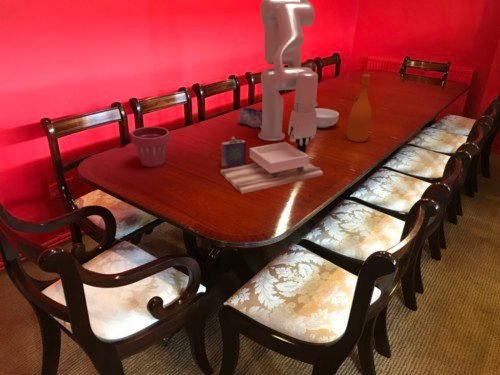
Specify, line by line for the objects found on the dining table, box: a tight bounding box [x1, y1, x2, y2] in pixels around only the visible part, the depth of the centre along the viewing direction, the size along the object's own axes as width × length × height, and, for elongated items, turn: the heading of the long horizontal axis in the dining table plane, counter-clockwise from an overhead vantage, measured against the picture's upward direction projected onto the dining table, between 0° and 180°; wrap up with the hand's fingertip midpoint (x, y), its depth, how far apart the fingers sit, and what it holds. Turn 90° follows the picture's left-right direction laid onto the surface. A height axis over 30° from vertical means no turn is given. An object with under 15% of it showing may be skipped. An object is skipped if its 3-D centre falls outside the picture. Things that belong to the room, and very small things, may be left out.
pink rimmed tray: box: [249, 141, 310, 177], centre depth 143 cm, size 16×16×6 cm
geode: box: [237, 106, 262, 129], centre depth 196 cm, size 20×12×10 cm, turn 55°
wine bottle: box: [346, 73, 372, 143], centre depth 174 cm, size 10×10×30 cm
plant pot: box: [130, 126, 170, 168], centre depth 151 cm, size 14×14×13 cm
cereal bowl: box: [315, 107, 340, 129], centre depth 197 cm, size 17×17×7 cm
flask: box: [220, 136, 247, 168], centre depth 150 cm, size 10×3×12 cm, turn 109°
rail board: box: [220, 162, 324, 195], centre depth 144 cm, size 18×34×2 cm, turn 117°
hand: (301, 154), depth 147 cm, fingers closed
